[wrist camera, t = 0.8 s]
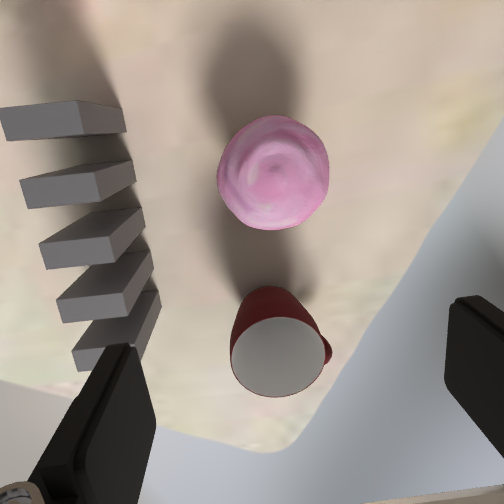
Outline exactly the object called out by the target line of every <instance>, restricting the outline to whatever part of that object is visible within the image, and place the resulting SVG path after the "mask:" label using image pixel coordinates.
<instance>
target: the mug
mask: <svg viewBox="0 0 504 504" xmlns="http://www.w3.org/2000/svg"><path fill="white" fill-rule="evenodd" d="M331 357H332V349H331V346H330V344H329V343H328V341H327V340H326V339H325V338H324V337H323V336H322V335H321V334H320V331H319V329H318V327H317V325H316V323H315V321H314V319H313V318H312V316H311V315H310V314H309V313H308V311H307V310H306V309H305V308H304V307H303V306H302V305H301V303H300V302H299V301H298V300H297V299H296V298H295V297H294V296H293V295H292V294H291V293H289V292H288V291H286V290H284V289H282V288H279V287H273V286H267V287H261V288H259V289H256V290H254V291H253V292H251V293H250V294H249V295H248V296H247V297H246V298H245V299H244V300H243V302H242V303H241V305H240V307H239V310H238V313H237V316H236V319H235V322H234V325H233V329H232V333H231V338H230V362H231V367H232V371H233V373H234V375H235V377H236V379H237V380H238V381H239V383H240V384H241V385H242V386H244V387H245V388H246V389H248V390H249V391H251V392H253V393H255V394H258V395H261V396H265V397H285V396H290V395H293V394H296V393H298V392H300V391H302V390H304V389H305V388H307V387H308V386H310V385H311V384H312V383H313V382H314V381H315V380H316V379H317V377H318V376H319V375H320V373H321V371H322V369H323V367H324V365H325V364H327V363H328V362H329V361H330V359H331Z"/></svg>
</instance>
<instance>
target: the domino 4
mask: <svg viewBox="0 0 504 504" xmlns="http://www.w3.org/2000/svg"><path fill="white" fill-rule="evenodd" d="M153 269H154V266H153V261H152V256H151V251H141V252H131V253H123V254H122V255H121V256H120V257H119V258H118V259H117V260H116V262H113V263H104V264H94V265H91V266H90V267H89V268H88V269H87V270H86V271H85V272H84V273H83V274H82V275H81V276H80V277H79V278H78V279H77V280H76V281H75V282H74V283H73V284H72V285H71V286H70V287H69V288H68V289H67V290H66V291H65V292H64V293H63V294H62V295H61V296H60V297H58V298H57V299H56V303H57V306H58V309H59V312H60V316H61V319H62V322H63V323H70V322H79V321H88V320H97V319H106V318H115V317H124V316H128V315H129V313H130V311H131V309H132V307H133V306H134V304H135V302H136V300H137V298H138V297H139V295H140V293H141V291H142V289H143V288H144V286H145V284H146V282H147V280H148V278H149V277H150V275H151V273H152V271H153Z"/></svg>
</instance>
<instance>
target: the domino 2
mask: <svg viewBox="0 0 504 504" xmlns="http://www.w3.org/2000/svg"><path fill="white" fill-rule="evenodd" d="M19 182H20V185H21V188H22V191H23V195H24V198H25V201H26V205H27V208H28V209H34V208H44V207H53V206H63V205H72V204H82V203H92V202H101V201H103V200H104V199H106V198H108V197H110V196H112V195H113V194H115V193H117V192H119V191H121V190H122V189H124V188H126V187H128V186H130V185H131V184H133V183H135V182H137V181H136V176H135V171H134V166H133V161H132V160H129V161H119V162H109V163H100V164H90V165H80V166H75V167H71V168H67V169H63V170H58V171H54V172H50V173H46V174H42V175H38V176H33V177H29V178H25V179H21V180H19Z"/></svg>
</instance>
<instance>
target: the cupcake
mask: <svg viewBox="0 0 504 504" xmlns="http://www.w3.org/2000/svg"><path fill="white" fill-rule="evenodd" d="M217 185H218V189H219V192H220V194H221V197H222V199H223V200H224V202H225V204H226V205H227V207H228V208H229V209H230V210H231V211H232V212H233V213H234V214H235V216H236V217H237V218H238V219H239V220H240V221H241V222H243V223H244V224H246V225H247V226H250V227H253V228H257V229H263V230H279V229H285V228H290V227H293V226H296V225H298V224H300V223H302V222H304V221H305V220H306V219H307V218H308V217H309V216H310V215H311V214H312V213H313V212H314V211H315V210H316V209H317V208H318V207H319V206H320V205H321V203H322V202H323V200H324V199H325V197H326V194H327V191H328V185H329V160H328V155H327V152H326V149H325V147H324V145H323V143H322V141H321V140H320V138H319V137H318V136H317V135H316V134H315V133H314V132H313V131H312V130H311V129H309V128H308V127H307V126H305V125H303V124H301V123H299V122H297V121H295V120H294V119H292V118H289V117H286V116H281V115H269V116H264V117H261V118H259V119H256V120H254V121H253V122H251V123H249V124H248V125H246V126H245V127H243V128H242V129H241V130H240V131H238V132H237V133H236V134H235V136H234V137H233V138H232V139H231V141H230V142H229V143H228V145H227V146H226V148H225V150H224V152H223V155H222V157H221V160H220V163H219V166H218V169H217Z"/></svg>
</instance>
